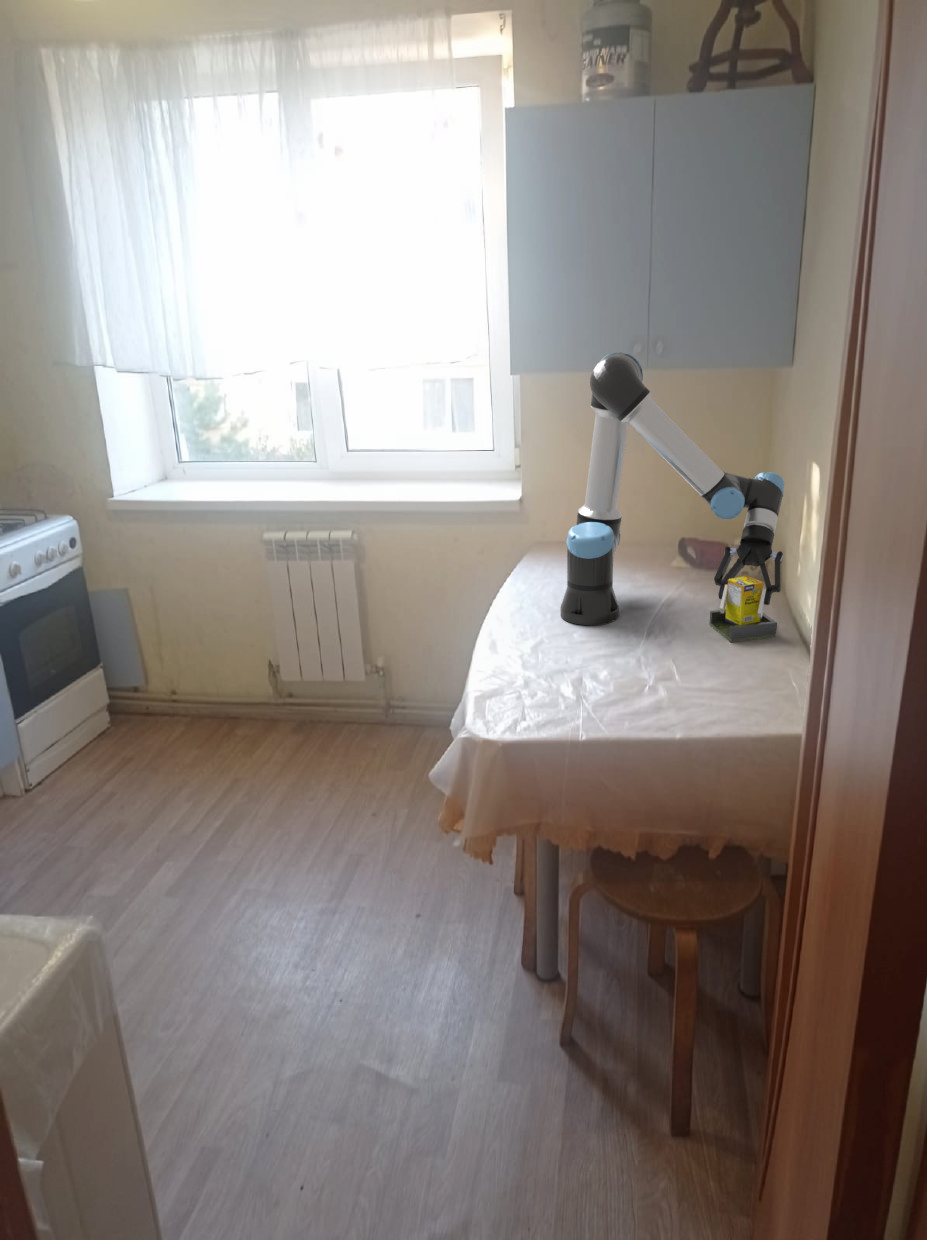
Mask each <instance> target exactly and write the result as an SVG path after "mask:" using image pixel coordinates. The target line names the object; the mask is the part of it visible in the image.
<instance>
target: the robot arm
mask: <svg viewBox="0 0 927 1240" xmlns="http://www.w3.org/2000/svg"><path fill="white" fill-rule="evenodd" d="M643 378H644V374H643V369H642V365H641V364H640V362H639V361H638V360H637V359H636V358H635V357H634V356H633V355H631V354H628V353H626V352H622V351H620V352H618V351H617V352H616V351H615V352H613V353H609V354H607V355H605V356H604V357H603V358H602V359H601V360H599V361H598V362H597V364H596V365H595V366H594V368H593V369H592V371H591V374H590V378H589V384H590V385H589V387H590V391H591V401H590V408H591V410H592V411H593V412H594V414H595V418H594V425H593V435H592V441H591V442H592V443H591V448H590V458H589V465H588V472H587V474H588V475H587V483H586V489H585V499H584V504H583V505H582V506H581V507H579V508H578V509H577V517H576V524H575V525H574V526H572V527H571V528H569V530H568V532H567V538H566V551H567V553H566V554H567V555H566V556H567V557H566V558H567V559H566V560H567V561H566V562H567V563H566V569H567V571H566V573H567V574H566V578H567V579H566V581H567V582H566V589H565V593H564V596H563V599H562V601H561V604H560V618H561V619H562V620H565V621H566V622H568V623H571V624H575V625H581V626H597V625H598V626H599V625H600V626H601V625H606V624H609V623H613V622H614V621H616V620H617V619H618V618H619V616H620V606H619V602H618V600H617V597H616V593H615V590H614V583H613V581H614V558H615V554H616V551H617V549H618V546H619V545H620V541H621V526H622V517H623V513H622V512H621V511H620V510H619V509H618V506H619V505H618V503H619V497H620V488H621V483H622V482H621V481H622V476H623V475H622V474H623V467H624V459H625V454H626V453H625V452H626V446H627V445H626V444H627V439H628V438H627V437H628V431H629V425H630V427H632V429H633V430H634V431H636V432H637V434H639V436H640V437H642V439H644V441H646V443H648V444H649V446H650V447H652V448H653V450H654V451H656V453H657V454H658V455H659V456H660V457H662V458H663V460H665V462H667V464H669V465H670V467H672V468H673V470H674V471H675V472H676V473H678V475H680V477H682V478H683V480H684V481H685V482H686V483H687V484H688V485H690V486H691V487H692V489H693V490H695V491H696V493H698V494H699V496H700V497H701V498H702V499H703V500H704V501H705V503H706V504H708V506H709V507H710V508H711V511H712V513H713V514H714V515H715V516H716V517H717V518H719V519H721V520H731V519H735V518H736V517H737V518H738V516H740V514H741V513H742V511H743V509H747V511H746V514H745V520H744V523H743V529H742V532H741V537H740V541H739V543H738V545H737V547H730V546H725V548H724V556H723V558H722V560H721V562H720V564H719V567H718V569H717V571H716V573H715V575H714V577H713V581H714V584H715V585H716V586H719V590H718V599H719V600H720V605H719V610H720V612H721V613H724V611H725V609H726V603H727V587H728V580H729V579H732V578H736V576H737V575H738V574H739V573H740V571H741V570H743V568H744V567H745V566H749V567H750V566H753V567H759V569H760V571H761V576H762V579H763V584H764V586H765V588H763V590H762V595H761V599H760V604H759V609H758V618H762V615H763V613H764V608H765V606H769V605H770V604H771V598H772V594H773V593H780V592H781V590H782V589H781V587H782V585H781V583H782V582H781V581H782V577H781V576H782V575H781V574H782V572H781V568H782V567H781V566H782V563H783V559H784V554H783V552H782V551H781V550H780V551H773V550H772V546H773V543H774V538H775V533H776V528H777V524H778V519H779V513H780V509H781V506H782V501H783V497H784V490H785V480H784V478H783V477H782V476H781V475H779V474H777V473H776V472H772V471H769V472H766V471H764V472H760V473H759V472H758V474H757V475H755V477H754V478H750V477H747V476H741V475H737V474H733V473H729V472H724V471H722V470H721V469H720V468H719V466H718V465H717V464H716V463H715V462H713V460H712V459H711V458H710V457H709V456H708V455H707V454H706V453H704V451H703V450H702V449H701V448H700V447H699V446H698V445H697V444H696V443H695V442H694V441H693V440H692V439H691V438H690V437H689V436H688V435H687V434H686V433H685V432H684V431H683V430H682V429H681V428H680V427H679V426H678V425H677V423H675V421H674V420H672V419H671V418H670V417H669V416H668V415H667V414H666V412H665V411H664V410H663V409H662V408H660V406H659V405H658V404H657V403H656V402H655V401H654V400H653V399H652V391H651V390H649V389H648V387H647V386H646V385H645V384H644V383H643V380H644V379H643ZM736 554H737V556H738V558H737V559H736V561H735V563H734V564H733V566H732V567H731V568H730V569H729V570H728V571H727V569H728V568H729V567H728V566H730V563H731V560H732V558H734V556H735V555H736ZM770 558H772V561H773V562H774V584H772V583H771V580H770V577H769V572H768V570H767V569H768V568H767V565H766V562H767V561H768V560H769V559H770Z"/></svg>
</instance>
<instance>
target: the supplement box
mask: <svg viewBox="0 0 927 1240" xmlns="http://www.w3.org/2000/svg"><path fill="white" fill-rule="evenodd" d="M763 589H764V581H761V580H758V579H756V578H754V577H753V576H750V575H744V576H738V577H735V578H732V579H729V580H728V587H727V603H726V607H725V609H726V618H725V621H727V622H729V623H731V624H733V625H735V626H736V625H745V624H754V623H760V618H758V609H759V604H760V599H761V595H762V590H763Z"/></svg>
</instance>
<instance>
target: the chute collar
mask: <svg viewBox="0 0 927 1240" xmlns="http://www.w3.org/2000/svg"><path fill="white" fill-rule="evenodd" d="M725 618H726V608H725V611H724V613H721V612H720V609H719V610H718V609H715V610H710V612H709V624H708V625H710V626H709V627H710V628H712V627H713V628H712V629H713V630H714V631H716V632H717V633H718V634H719V635H721V636H722V637H723V638H724V639H726V640H727V641H728V642H729V643H731V644H732V643H740V642H747V641H756V640H764V639H765V640H766V639H773V638H777V631H778V630H777V629H778V622H777V621H776V620H774V619H772V618H771V617H770V616H768V615H767V614H765V613H764V612H763V615H762V618H760V623H754V624H745V625H736V626H735V625H733V624H731V623H729V622H727V621H725Z"/></svg>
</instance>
